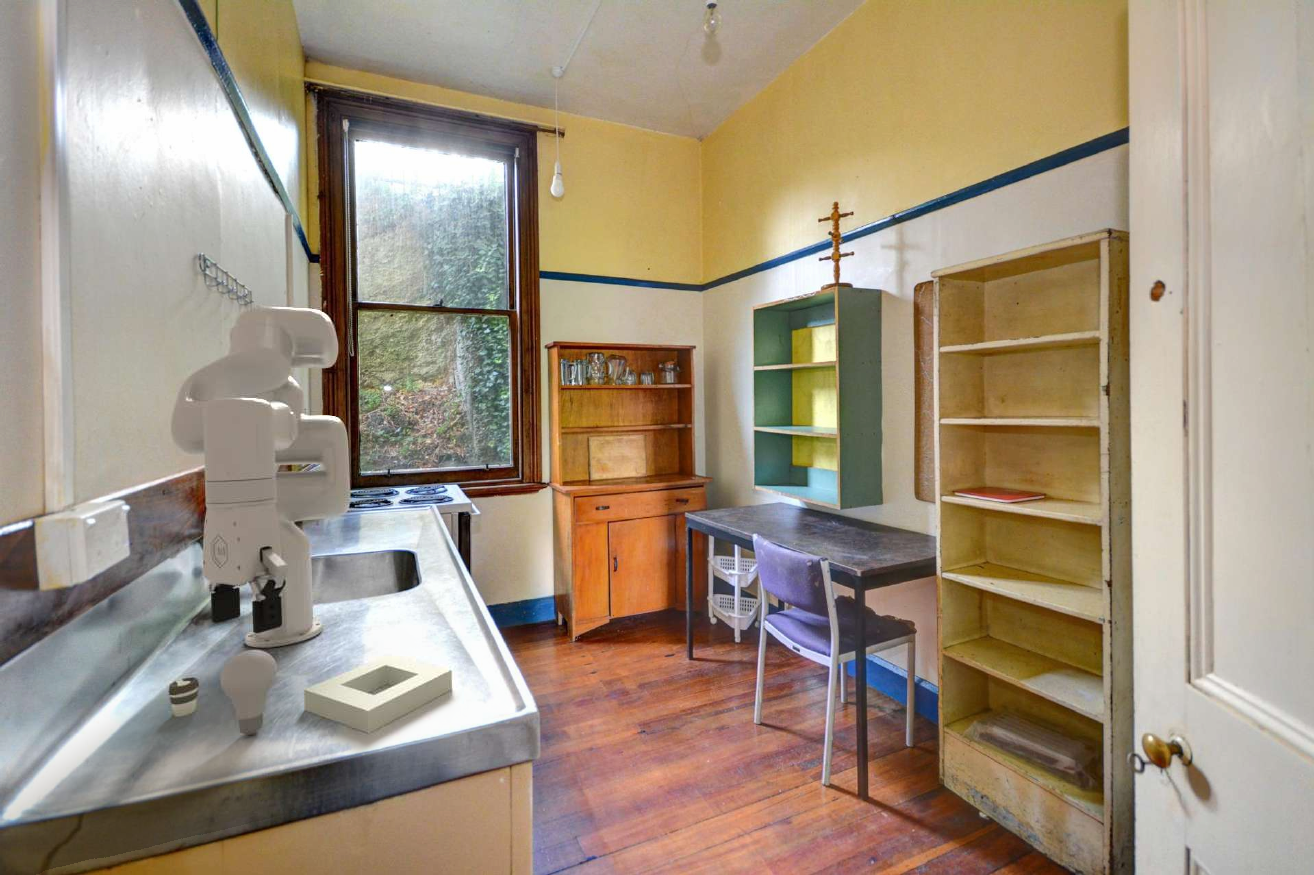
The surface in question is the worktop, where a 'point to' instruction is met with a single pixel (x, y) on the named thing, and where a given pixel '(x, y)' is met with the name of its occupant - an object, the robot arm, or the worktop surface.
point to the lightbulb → (249, 686)
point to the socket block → (369, 712)
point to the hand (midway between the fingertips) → (246, 624)
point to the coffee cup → (183, 696)
